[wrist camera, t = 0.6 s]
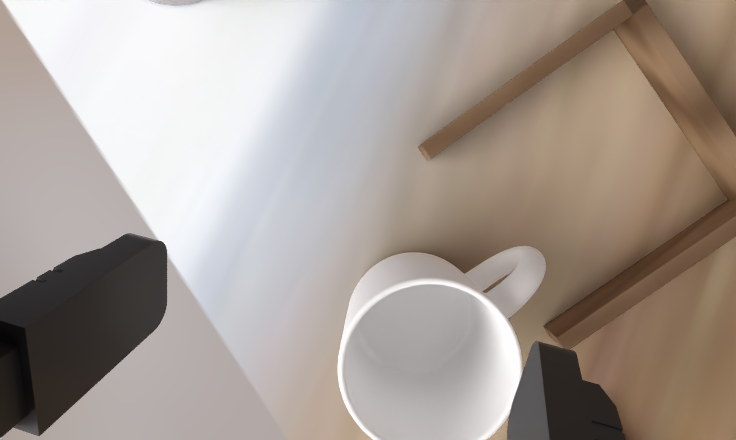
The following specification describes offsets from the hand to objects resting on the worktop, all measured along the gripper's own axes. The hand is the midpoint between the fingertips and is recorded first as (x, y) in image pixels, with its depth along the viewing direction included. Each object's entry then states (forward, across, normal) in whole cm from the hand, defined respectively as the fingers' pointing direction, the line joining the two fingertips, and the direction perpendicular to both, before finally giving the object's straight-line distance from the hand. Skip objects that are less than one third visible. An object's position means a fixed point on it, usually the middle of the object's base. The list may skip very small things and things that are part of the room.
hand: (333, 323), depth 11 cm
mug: (+21, -2, +11) cm, 23 cm away
